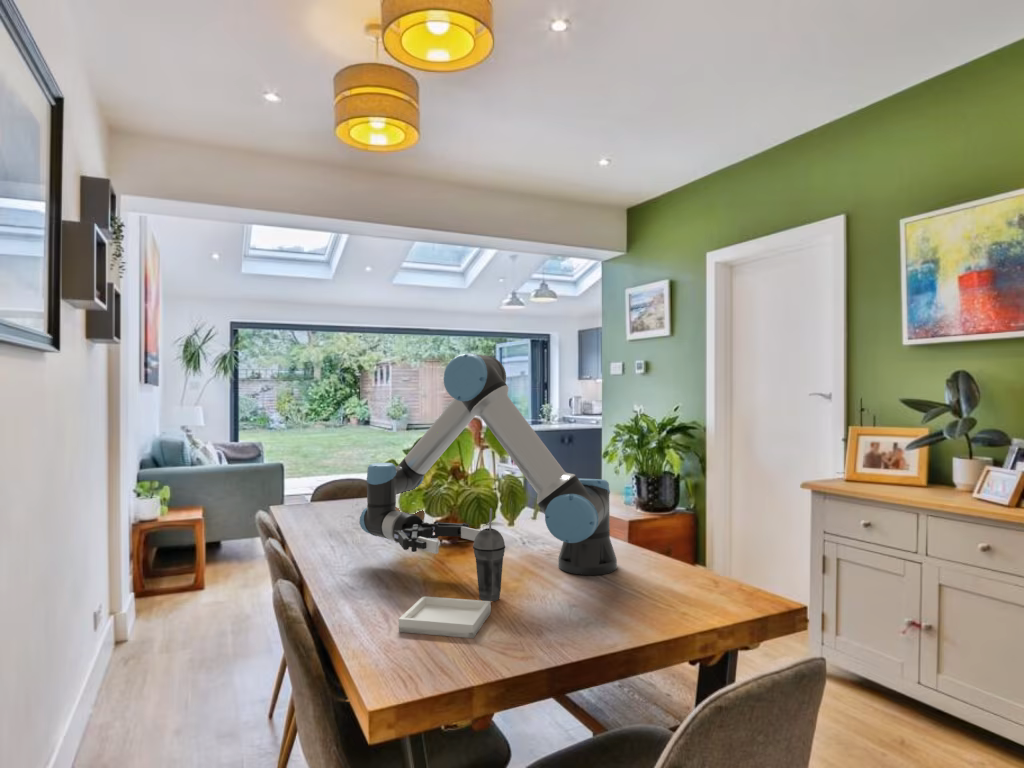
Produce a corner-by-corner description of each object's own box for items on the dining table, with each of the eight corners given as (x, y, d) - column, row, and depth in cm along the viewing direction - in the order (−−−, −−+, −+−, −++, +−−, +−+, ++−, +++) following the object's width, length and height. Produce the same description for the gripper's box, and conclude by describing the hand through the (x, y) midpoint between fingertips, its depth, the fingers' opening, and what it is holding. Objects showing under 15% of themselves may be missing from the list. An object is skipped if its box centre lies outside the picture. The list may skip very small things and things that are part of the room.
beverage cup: (467, 601, 135) (467, 510, 135) (481, 591, 142) (480, 504, 142) (498, 606, 132) (497, 513, 132) (510, 595, 139) (510, 507, 139)
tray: (490, 613, 128) (490, 601, 128) (473, 638, 116) (473, 625, 116) (423, 607, 132) (422, 596, 132) (398, 631, 119) (398, 618, 119)
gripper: (440, 533, 167) (496, 547, 153) (362, 552, 149) (417, 569, 135) (440, 505, 167) (496, 517, 153) (362, 521, 149) (417, 535, 135)
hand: (459, 541), depth 144 cm, fingers open, 13 cm apart
